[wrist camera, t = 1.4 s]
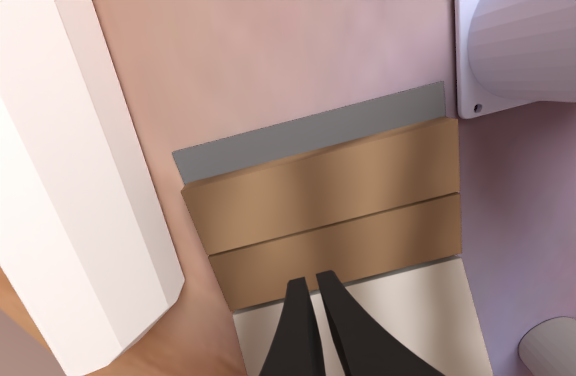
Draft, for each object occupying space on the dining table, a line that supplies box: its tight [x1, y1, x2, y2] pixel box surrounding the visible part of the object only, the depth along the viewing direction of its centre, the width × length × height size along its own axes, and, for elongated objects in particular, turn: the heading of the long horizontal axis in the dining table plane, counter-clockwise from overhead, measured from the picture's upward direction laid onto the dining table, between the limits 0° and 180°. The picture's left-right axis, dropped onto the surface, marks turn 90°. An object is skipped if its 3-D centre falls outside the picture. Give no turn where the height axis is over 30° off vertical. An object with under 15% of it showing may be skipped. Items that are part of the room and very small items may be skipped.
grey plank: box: [232, 255, 493, 376], centre depth 20 cm, size 16×9×2 cm, turn 104°
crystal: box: [0, 0, 185, 376], centre depth 14 cm, size 7×7×24 cm
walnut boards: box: [181, 117, 462, 311], centre depth 18 cm, size 16×9×2 cm, turn 104°
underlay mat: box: [172, 81, 446, 185], centre depth 20 cm, size 16×21×1 cm
